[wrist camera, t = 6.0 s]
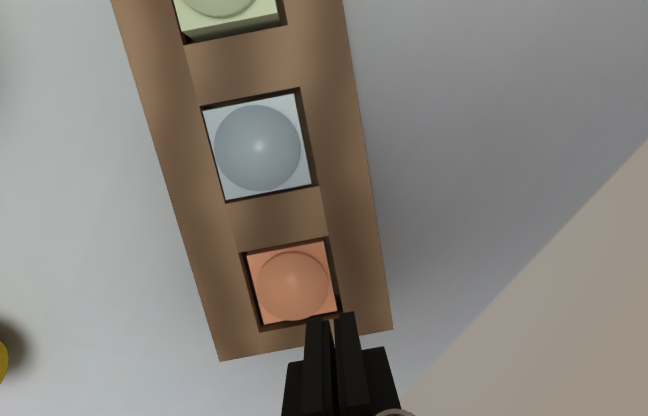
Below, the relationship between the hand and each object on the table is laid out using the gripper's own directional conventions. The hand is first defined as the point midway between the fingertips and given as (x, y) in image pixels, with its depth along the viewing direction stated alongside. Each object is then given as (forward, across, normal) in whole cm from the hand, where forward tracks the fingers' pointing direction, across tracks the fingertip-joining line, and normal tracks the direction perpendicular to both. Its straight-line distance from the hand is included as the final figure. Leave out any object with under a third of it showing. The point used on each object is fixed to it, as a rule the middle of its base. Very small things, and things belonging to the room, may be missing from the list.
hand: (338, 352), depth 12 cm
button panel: (+14, +3, -7) cm, 16 cm away
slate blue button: (+12, +3, -7) cm, 14 cm away
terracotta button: (+13, +3, +2) cm, 13 cm away
